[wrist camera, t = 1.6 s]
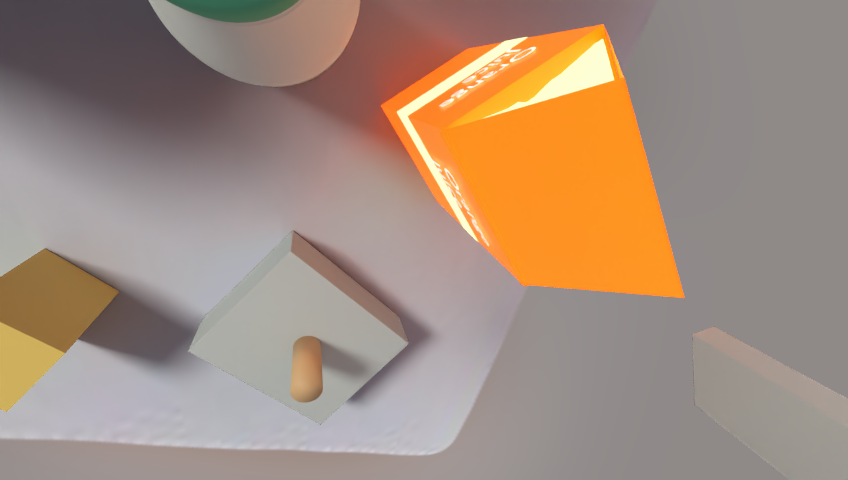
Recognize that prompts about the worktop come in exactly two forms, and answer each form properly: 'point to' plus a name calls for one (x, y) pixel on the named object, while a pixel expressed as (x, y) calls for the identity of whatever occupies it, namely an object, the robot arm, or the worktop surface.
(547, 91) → the orange juice
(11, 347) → the yellow rectangular block
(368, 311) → the toggle switch box
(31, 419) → the worktop surface
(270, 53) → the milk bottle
